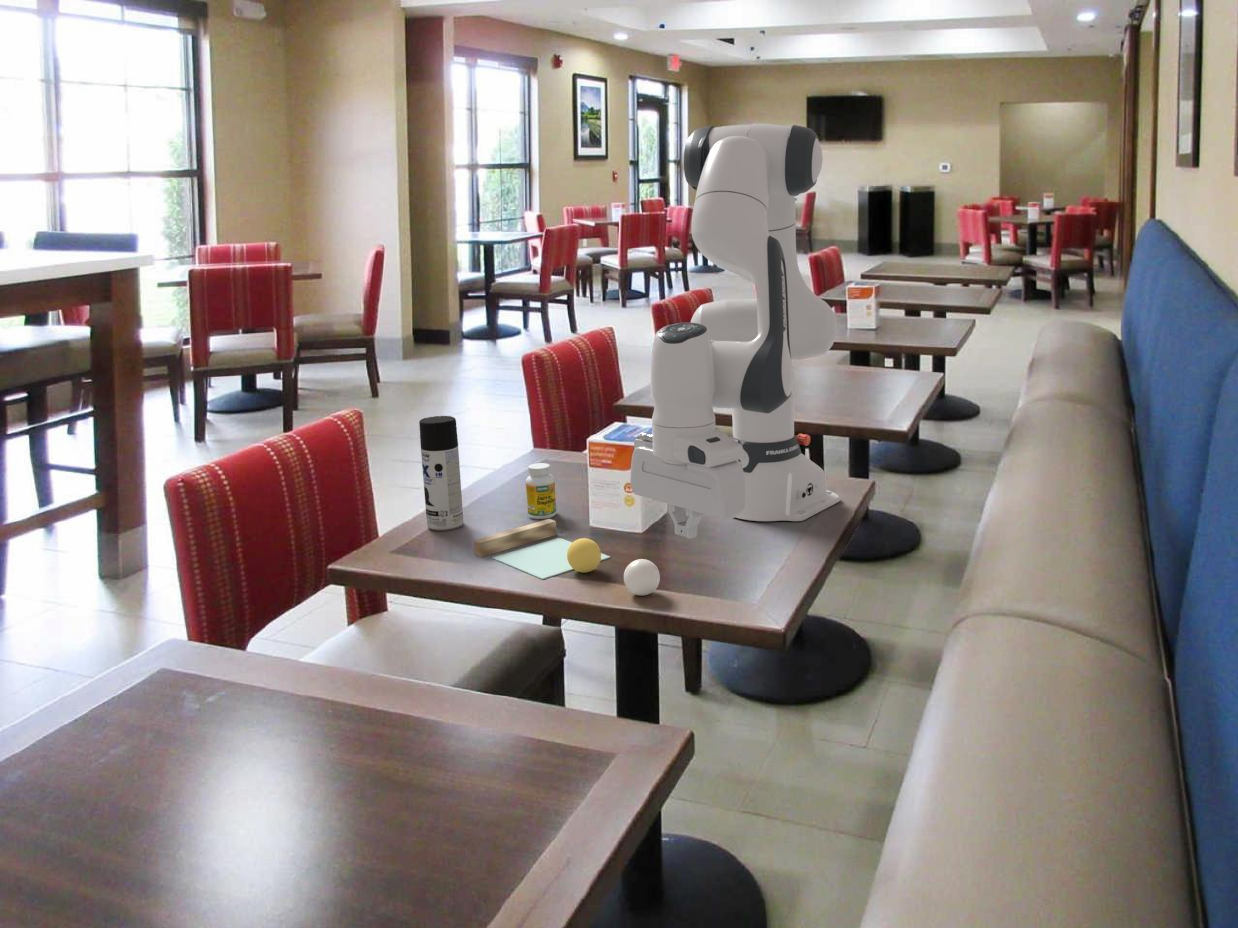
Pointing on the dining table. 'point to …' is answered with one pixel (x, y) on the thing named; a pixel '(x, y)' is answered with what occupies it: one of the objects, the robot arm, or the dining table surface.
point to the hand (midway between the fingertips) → (686, 535)
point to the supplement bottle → (540, 492)
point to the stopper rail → (514, 537)
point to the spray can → (441, 473)
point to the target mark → (541, 558)
